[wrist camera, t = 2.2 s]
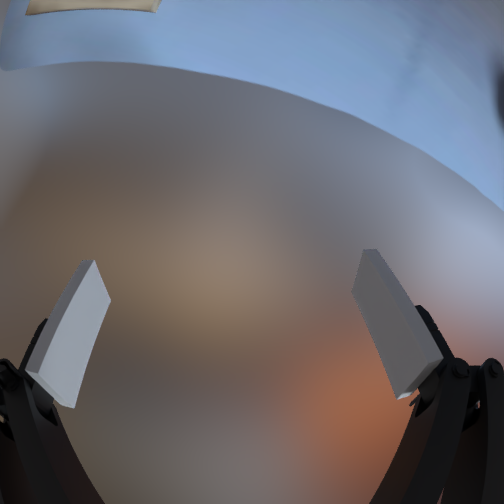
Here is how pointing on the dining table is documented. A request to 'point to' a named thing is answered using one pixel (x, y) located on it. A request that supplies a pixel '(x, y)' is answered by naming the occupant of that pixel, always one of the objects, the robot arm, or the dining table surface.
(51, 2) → the base plate
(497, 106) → the dining table surface
